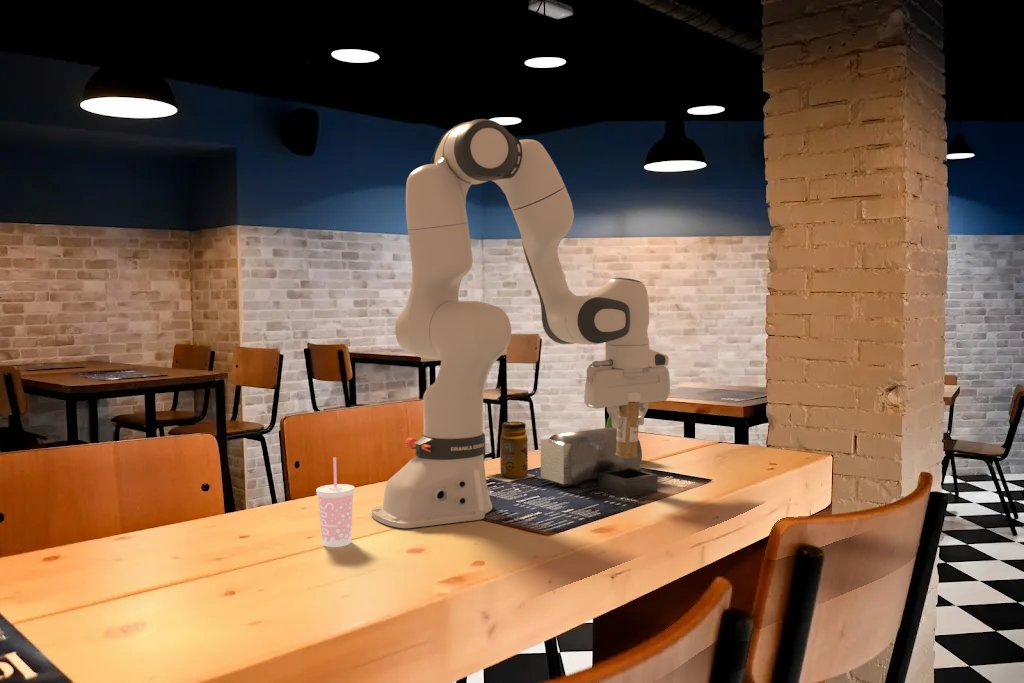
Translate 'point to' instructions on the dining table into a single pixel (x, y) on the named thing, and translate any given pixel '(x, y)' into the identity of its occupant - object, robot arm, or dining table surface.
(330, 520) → the beverage cup
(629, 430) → the sprinkles bottle
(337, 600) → the dining table surface
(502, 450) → the condiment
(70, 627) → the dining table surface
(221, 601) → the dining table surface
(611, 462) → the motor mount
